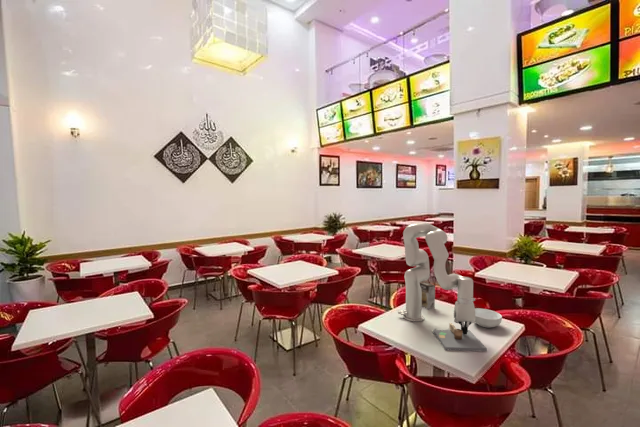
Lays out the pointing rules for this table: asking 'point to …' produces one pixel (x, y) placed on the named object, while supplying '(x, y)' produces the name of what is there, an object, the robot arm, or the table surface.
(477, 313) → the cereal bowl
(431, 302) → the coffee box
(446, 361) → the table surface
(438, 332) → the grey flat square slab
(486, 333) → the table surface
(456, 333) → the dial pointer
